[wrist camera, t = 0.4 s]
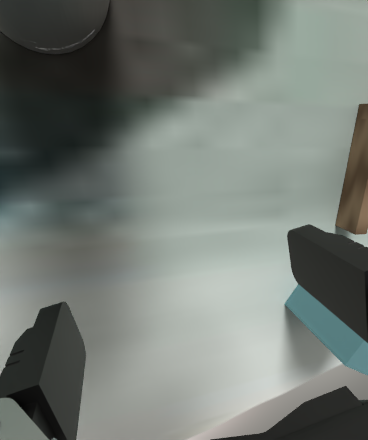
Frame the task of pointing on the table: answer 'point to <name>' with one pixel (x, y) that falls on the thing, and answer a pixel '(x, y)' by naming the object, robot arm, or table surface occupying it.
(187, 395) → the table surface
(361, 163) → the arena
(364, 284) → the robot arm
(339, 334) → the teal block
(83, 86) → the table surface
